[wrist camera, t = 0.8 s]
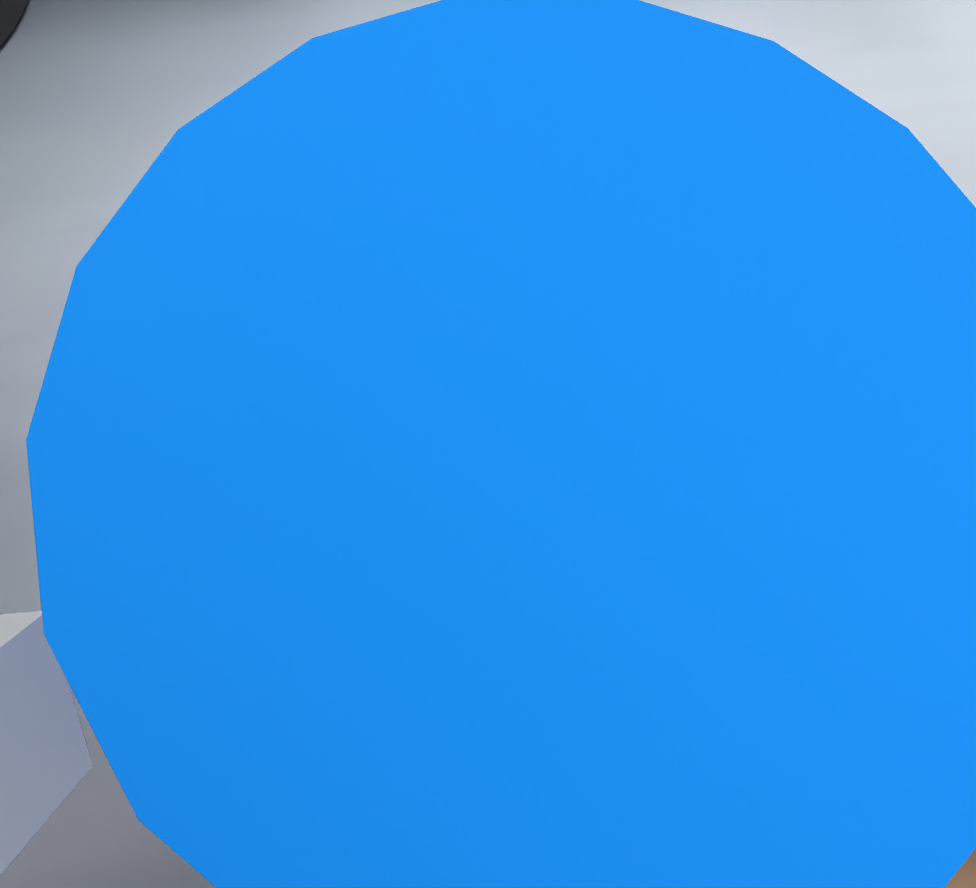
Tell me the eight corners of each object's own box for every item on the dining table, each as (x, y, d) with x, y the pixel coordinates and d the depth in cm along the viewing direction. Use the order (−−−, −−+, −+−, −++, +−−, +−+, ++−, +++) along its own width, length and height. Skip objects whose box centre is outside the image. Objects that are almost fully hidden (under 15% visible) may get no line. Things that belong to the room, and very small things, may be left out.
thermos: (597, 475, 34) (992, -15, 10) (621, 757, 31) (1251, 1001, 7) (324, 484, 33) (53, -27, 9) (324, 774, 30) (-70, 1115, 6)
